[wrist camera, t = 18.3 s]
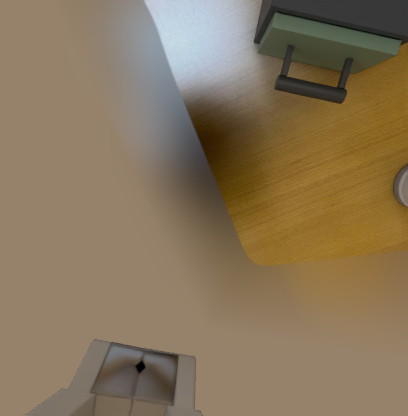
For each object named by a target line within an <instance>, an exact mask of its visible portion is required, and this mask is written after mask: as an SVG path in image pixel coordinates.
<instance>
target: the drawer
mask: <svg viewBox="0 0 408 416" xmlns="http://www.w3.org/2000/svg"><path fill="white" fill-rule="evenodd" d="M401 42H402V41H401V40H396V39H392V38H388V37H383V36H379V34H376V33H371V32H367V31H362V30H358V29H354V28H349V27H345V26H340V25H336V24H332V23H327V22H323V21H318V20H314V19H309V18H305V17H301V16H296V15H292V14H287V13H283V12H279V11H278V12H275V14H274V16H273V18H272V19H271V21H270V23H269V25H268V27H267V29H266V31H265V33H264V35H263V37H262V39H261V40H260V43H259V47H258V52H257V53H261V54H265V55H270V56H274V57H279V58H283V59H284V62H283V66H282V70H281V74H280V75H278V77H277V80H276V83H275V90H279V91H284V92H288V93H293V94H297V95H302V96H307V97H311V98H316V99H320V100H325V101H329V102H334V103H339V104H341V103H342V102H343V101H344V100H345V97H346V94H347V90H346V89H344V88H345V85H346V82H347V79H348V75H349V73H351V74H355V73H357V72H360V71H362V70H364V69H367V68H369V67H371V66H373V65H376V64H378V63H380V62H383V61H385V60H387V59H389V58H392V57H394V56H396V55H397V54H398V51H399V48H400V45H401ZM291 60H292V61H297V62H301V63H306V64H310V65H315V66H319V67H324V68H328V69H333V70H337V71H342V72H341V76H340V79H339V82H338V86H337V88H336V87H332V86H327V85H323V84H318V83H314V82H309V81H305V80H300V79H295V78H291V77H286V76H287V74H288V70H289V66H290V62H291Z"/></svg>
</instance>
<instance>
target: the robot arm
mask: <svg viewBox="0 0 408 416" xmlns="http://www.w3.org/2000/svg"><path fill="white" fill-rule="evenodd" d="M195 380H196V358H195V356H189V355H183V354H176V353H170V352H164V351H158V350H152V349H146V348H145V349H144V348H139V347H134V346H129V345H124V344H119V343H114V342H107V341H102V340H98V339H94V340H93V342H92V343H91V344H90V346H89V348H88V350H87V353H86V355H85V357H84V358H83V360H82V362H81V364H80V366H79V368H78V370H77V372H76V375H75V376H74V378H73V380H72V382H71V384H70V386H69V388H68V389H63V388H62V389H61V390H59V391H58V392H57V393H55V394H54V395H52V396H51V397H49V398H48V399H47V400H45V401H44V402H42V403H41V404H40V405H38V406H37V407H35V408H34V409H32V410H31V411H30V412H28V413H27V414H25V415H24V416H203V415H202V413H201V411H199V410H195Z"/></svg>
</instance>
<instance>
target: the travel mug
mask: <svg viewBox="0 0 408 416" xmlns="http://www.w3.org/2000/svg"><path fill="white" fill-rule="evenodd" d="M394 193H395V197H396V198H397V200H398V201H399V202H400V203H401V204H402V205H404V206H406V207H408V165H406V166H405V167H404V168H403V169H402V170H401V171H400V172H399V173H398V175H397V177H396V179H395V182H394Z"/></svg>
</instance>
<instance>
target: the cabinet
mask: <svg viewBox="0 0 408 416" xmlns="http://www.w3.org/2000/svg"><path fill="white" fill-rule="evenodd" d="M278 11H279V12H283V13H287V14H292V15H296V16H301V17H305V18H309V19H314V20H318V21H323V22H327V23H332V24H336V25H340V26H345V27H349V28H354V29H358V30H362V31H367V32H371V33H376V34H379V36H383V37H388V38H392V39H396V40H401V41H402V42H401V45H403V44H405V43H407V42H408V0H263V2H262V7H261V11H260V16H259V20H258V25H257V29H256V34H255V38H254V43H257V44H259V43H260V40H261V39H262V37H263V35H264V33H265V31H266V29H267V27H268V25H269V23H270V21H271V19H272V18H273V16H274V14H275V12H278ZM401 45H400V46H401Z"/></svg>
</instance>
